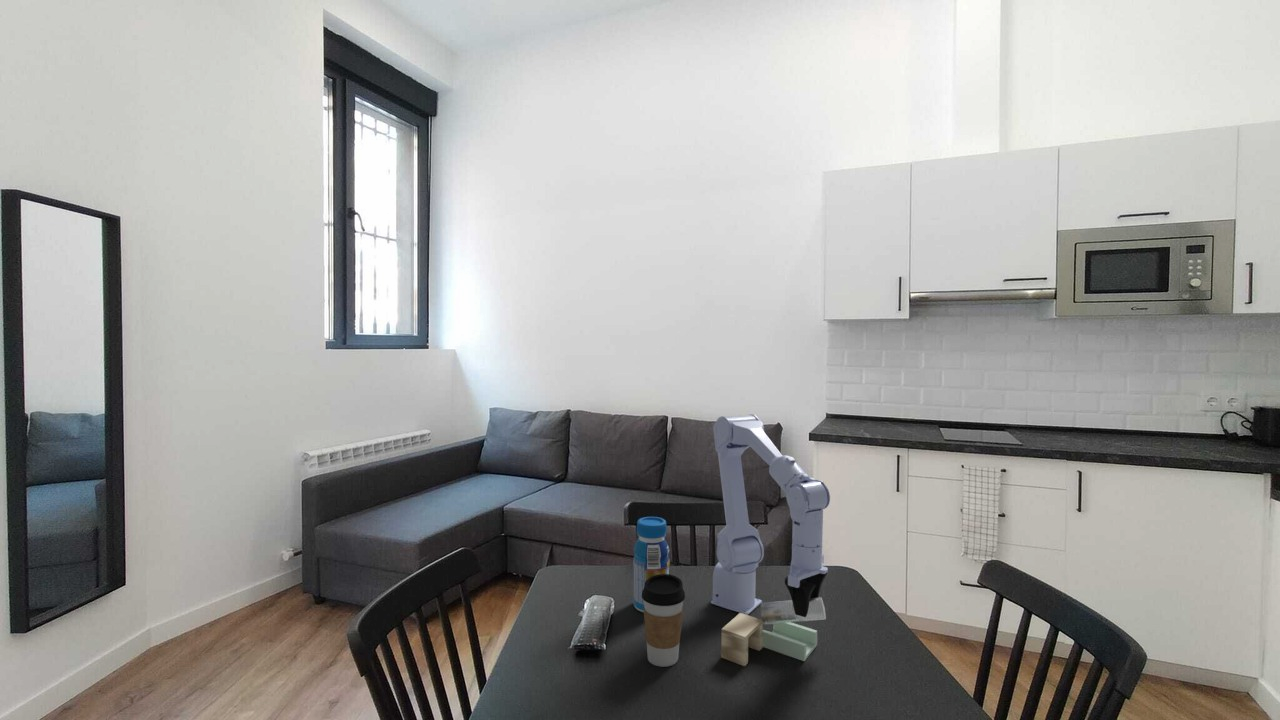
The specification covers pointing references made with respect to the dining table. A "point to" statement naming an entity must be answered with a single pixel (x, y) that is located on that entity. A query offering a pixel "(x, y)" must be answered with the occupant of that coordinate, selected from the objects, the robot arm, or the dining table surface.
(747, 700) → the dining table surface
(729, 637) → the wooden bridge block
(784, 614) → the axle
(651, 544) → the beverage bottle
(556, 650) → the dining table surface
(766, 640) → the cradle
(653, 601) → the coffee cup
